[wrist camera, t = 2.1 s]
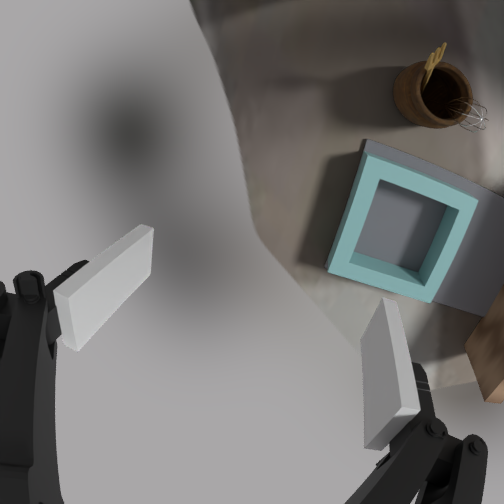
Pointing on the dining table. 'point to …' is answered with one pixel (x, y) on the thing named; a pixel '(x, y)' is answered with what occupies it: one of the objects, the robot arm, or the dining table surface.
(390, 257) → the grey flat plate
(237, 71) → the dining table surface
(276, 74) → the dining table surface
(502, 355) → the backstop wall
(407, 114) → the utensil holder
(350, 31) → the dining table surface
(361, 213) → the socket frame
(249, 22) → the dining table surface
